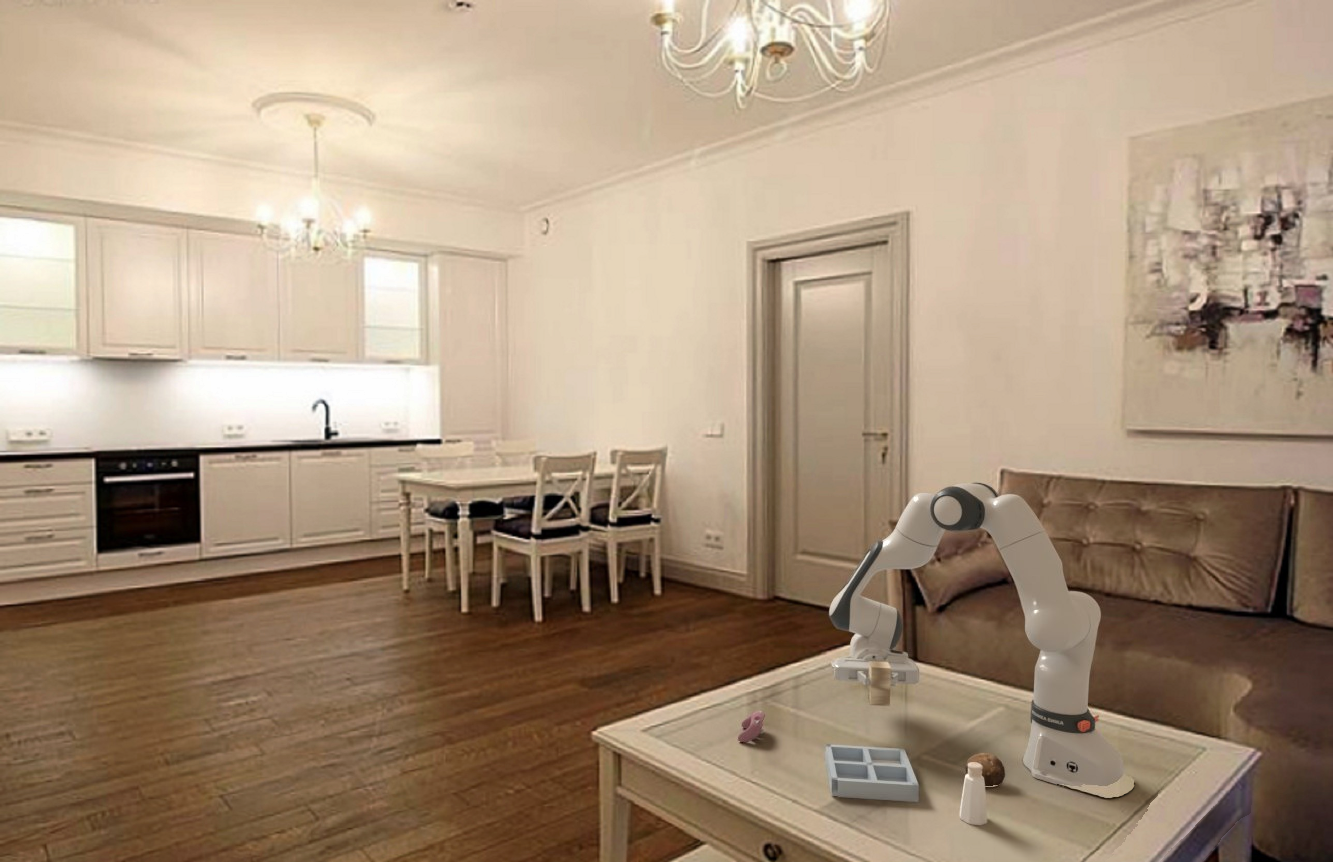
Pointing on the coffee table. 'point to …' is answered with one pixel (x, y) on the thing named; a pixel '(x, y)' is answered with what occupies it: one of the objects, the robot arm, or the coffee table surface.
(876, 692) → the birch block
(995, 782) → the mushroom
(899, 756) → the divided tray
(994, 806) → the coffee table surface
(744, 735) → the video game controller
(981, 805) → the pepper shaker
